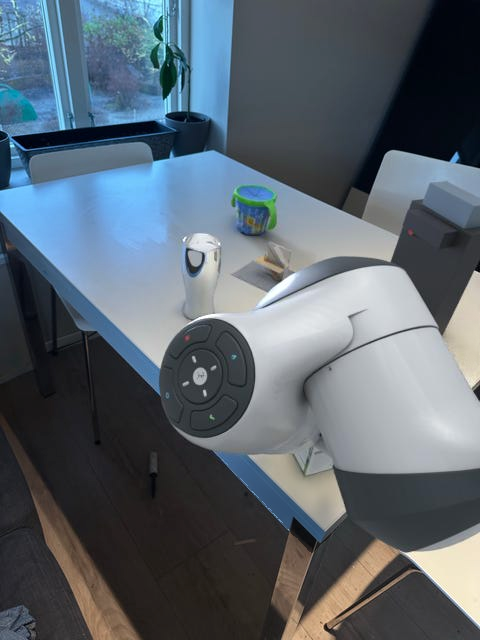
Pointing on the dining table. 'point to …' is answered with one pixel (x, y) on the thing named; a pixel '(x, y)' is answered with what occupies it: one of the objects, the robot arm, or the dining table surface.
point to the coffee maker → (440, 247)
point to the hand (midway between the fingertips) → (314, 414)
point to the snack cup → (254, 208)
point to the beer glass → (200, 273)
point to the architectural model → (267, 268)
